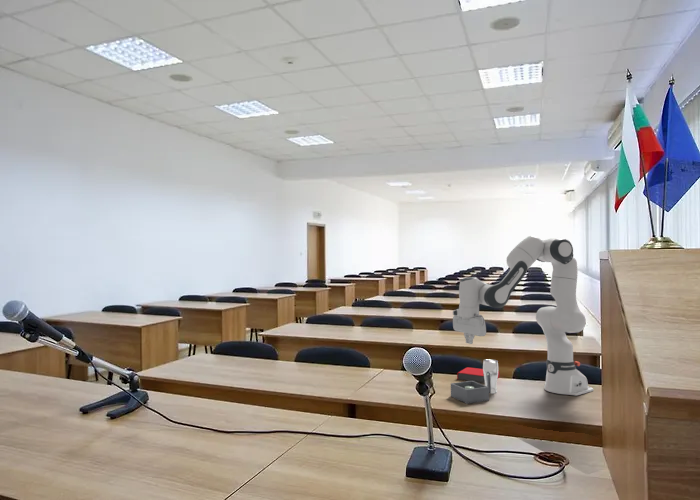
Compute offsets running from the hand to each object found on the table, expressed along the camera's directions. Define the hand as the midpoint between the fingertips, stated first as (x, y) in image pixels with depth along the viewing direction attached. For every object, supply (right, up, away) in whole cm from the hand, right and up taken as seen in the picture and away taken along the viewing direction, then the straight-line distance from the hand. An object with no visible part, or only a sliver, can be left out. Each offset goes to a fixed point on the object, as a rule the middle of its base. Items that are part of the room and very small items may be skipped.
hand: (469, 343), depth 216 cm
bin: (0, -25, 0) cm, 25 cm away
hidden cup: (0, -24, 0) cm, 24 cm away
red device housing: (+13, -26, +31) cm, 42 cm away
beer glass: (+12, -25, +9) cm, 30 cm away
